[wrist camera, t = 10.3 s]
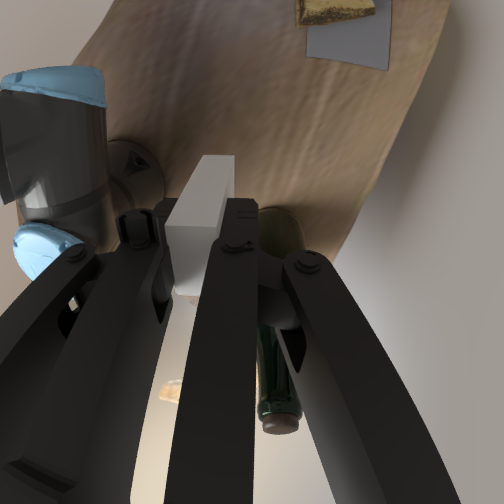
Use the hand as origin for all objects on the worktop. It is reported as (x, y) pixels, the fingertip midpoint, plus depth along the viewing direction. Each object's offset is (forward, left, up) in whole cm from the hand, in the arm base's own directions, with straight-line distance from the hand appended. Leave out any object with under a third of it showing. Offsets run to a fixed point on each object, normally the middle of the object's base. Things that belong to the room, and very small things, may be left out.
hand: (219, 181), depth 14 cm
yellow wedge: (+6, +18, -26) cm, 32 cm away
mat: (+14, +18, -28) cm, 36 cm away
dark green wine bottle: (+5, -21, -29) cm, 36 cm away
